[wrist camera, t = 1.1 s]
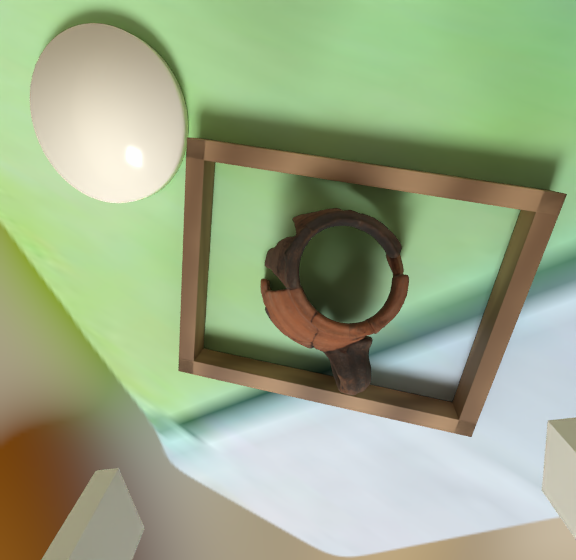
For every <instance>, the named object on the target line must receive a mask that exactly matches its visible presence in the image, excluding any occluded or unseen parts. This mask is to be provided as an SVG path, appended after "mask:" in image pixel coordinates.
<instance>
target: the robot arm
mask: <svg viewBox="0 0 576 560" xmlns="http://www.w3.org/2000/svg"><path fill="white" fill-rule="evenodd" d="M542 491H543V493H544V494H545V496H546V497H547V499H548V500H549V501H550V503H551V504H552V506H553V507H554V509H555V510H556V512H557V513H558V515H559V516H560V517H561V519H562V520H563V522H564V523H565V525H566V526H567V528H568V529H569V531H570V532H571V533H572V535H573V536H574V538H575V539H576V418H567V419H558V420H549V421H548V424H547V436H546V448H545V459H544V471H543V482H542ZM143 531H144V526H143V523H142V521H141V519H140V516H139V514H138V512H137V510H136V507H135V505H134V503H133V500H132V498H131V496H130V494H129V491H128V489H127V487H126V484H125V482H124V480H123V477H122V475H121V473H120V471H119V468H116V469H108V470H99V471H96V472H95V473H94V475H93V477H92V478H91V480H90V482H89V483H88V485H87V487H86V488H85V490H84V491H83V493H82V495H81V496H80V498H79V499H78V501H77V503H76V504H75V506H74V508H73V509H72V511H71V513H70V514H69V516H68V517H67V519H66V521H65V522H64V524H63V526H62V527H61V529H60V530H59V532H58V534H57V535H56V537H55V539H54V540H53V542H52V543H51V545H50V547H49V548H48V550H47V552H46V554H45V555H44V557H43V558H42V560H132V558H133V556H134V553H135V551H136V549H137V546H138V543H139V541H140V538H141V536H142V533H143Z"/></svg>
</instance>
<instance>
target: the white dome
mask: <svg viewBox="0 0 576 560" xmlns="http://www.w3.org/2000/svg"><path fill="white" fill-rule="evenodd" d="M30 110H31V117H32V122H33V126H34V130H35V133H36V136H37V138H38V141H39V143H40V145H41V147H42V150H43V152H44V153H45V155H46V157H47V158H48V160H49V162H50V163H51V164H52V166H53V167H54V168H55V170H56V171H57V172H58V173H59V174H60V175H61V176H62V177H63V178H64V179H65V180H66V181H67V182H68V183H69V184H70V185H71V186H73V187H74V188H76V189H77V190H79V191H80V192H82V193H84V194H86V195H87V196H89V197H92V198H95V199H97V200H101V201H105V202H111V203H127V202H132V201H136V200H140V199H144V198H147V197H149V196H151V195H153V194H155V193H157V192H159V191H160V190H161V189H162V188H164V187H165V186H166V185H167V184H168V183H169V182H170V181H171V180H172V178H173V177H174V176H175V174H176V173H177V171H178V169H179V167H180V165H181V163H182V161H183V158H184V155H185V151H186V147H187V137H188V115H187V108H186V104H185V100H184V96H183V93H182V91H181V88H180V85H179V83H178V81H177V79H176V77H175V75H174V74H173V72H172V70H171V69H170V67H169V66H168V64H167V63H166V62H165V61H164V59H163V58H162V57H161V56H160V55H159V54H158V53H157V52H156V51H155V50H154V49H153V48H152V47H151V46H150V45H148V44H147V43H146V42H144V41H143V40H141V39H140V38H138V37H136V36H134V35H132V34H130V33H128V32H126V31H124V30H122V29H119V28H117V27H114V26H111V25H106V24H101V23H87V24H80V25H77V26H74V27H71V28H69V29H67V30H65V31H63V32H61V33H60V34H59V35H57V36H56V37H55V38H53V39H52V40H51V42H50V43H49V44H48V45H47V46H46V47H45V49H44V50H43V52H42V53H41V55H40V57H39V59H38V61H37V63H36V66H35V69H34V72H33V75H32V81H31V86H30Z"/></svg>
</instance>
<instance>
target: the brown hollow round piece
mask: <svg viewBox="0 0 576 560" xmlns="http://www.w3.org/2000/svg"><path fill="white" fill-rule="evenodd" d="M293 222H294V223H295V228H296V235H295V236H294V237H286V238H285V239H283V240H281V241H279V242H278V244H277V245H276V246H275V247H274V248H271V249H270V250H269V251H268V252H267V256H266V260H265V266H266V267H267V268H270V269H271V270H272V272H273V273H274V274H275V275H276V276H277V277H278V278H279V279H280V281H281V282H282V283H283V284H284V286H285V287H286V289H282V290H277V291H272V290H270V283H269V280H267V279H261V294H262V297H263V302H264V304H265V306H266V307H265V311H266V313H267V315H268V316H269V318H270V319H271V321H272V322H273V323H274V325H275V326H276V327H277V328H278V329H279V330H280V331H281V332H282V333H283V334H284V335H286V336H288V337H289V338H290V339H292V340H294V341H295V342H297V343H299V344H301V345H303V346H305V347H307V348H313V347H314V348H316V349H318V350H320V351H323V352H324V353H325V354H326V356H327V357H328V358H329V360H330V363H331V368H332V372H333V375H334V379H335V381H336V385H337V387H338V390H339V391H340V392H343V393H345V394H349V395H356V394H357V393H359V392H363V391H364V390H365V389H366V388H367V387H368V386H369V384H370V382H371V365H370V361H369V348H370V346H371V344H372V338H371V337H369V336H367V335H370V334H373V333H374V334H376V333H377V332H379V331H380V330H381V329H382V328H383V327H385V326H386V325H387V324H388V323H389V322H390V321H391V320H392V319H393V318H394V317H395V316H396V315H397V314H398V312H399V311H400V309H401V307H402V305H403V304H404V301H405V298H406V296H407V291H408V285H409V277H408V275H403V272H404V270H403V264H402V260H401V257H400V251H401V248H402V246H401V243H400V242H399V240H398V239H397V238H396V236H395V235H394V234H393V233H392V232H391V231H390V230H389V229H388V228H387V227H386V226H385V225H384V224H383V223H381V222H380V221H378V220H377V219H375V218H373V217H371V216H368V215H365V214H360V213H358V212H355V211H352V210H344V211H343V210H341V209H338V208H333V209H325V210H320V211H317V212H312V213H307V214H302V215H299V216H296V217H293ZM334 226H351V227H355V228H357V229H360V230H362V231H364V232H366V233H368V234H369V235H371V236H372V237H373V238H375V239H376V240H377V242H378V243H379V244H380V245H381V246H382V248H383V249H384V250H385V252H386V258H387V261H388V263H389V266H390V268H391V270H392V272H393V278H392V285H391V290H390V294H389V296H388V299H387V301H386V302H385V304H384V306H383V307H382V308H381V309H380V310H379V311H378V312H377V313H376V314H375V315H374V316H372V317H370V318H369V319H366V320H365V321H363V322H359V323H340V322H336V321H333V320H331V319H329V318H327V317H325V316H324V315H322V314H321V313H319V312H318V311H317V310H316V309H315V308H314V307H313V306H312V305H311V303H310V302H309V300H308V299H307V297H306V295H305V293H304V291H303V288H302V286H301V285H300V277H299V265H300V260H301V256H302V254H303V251H304V249H305V247H306V246H307V244H308V242H309V241H310V240H311V238H312V237H313V236H315V235H316V234H317V233H319V232H321V231H322V230H324V229H327V228H329V227H334Z"/></svg>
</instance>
